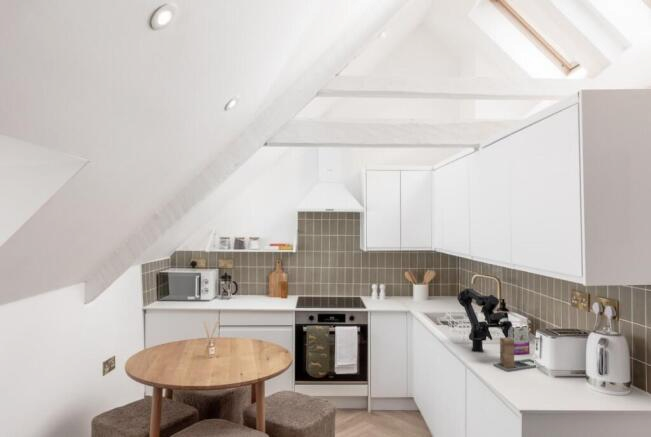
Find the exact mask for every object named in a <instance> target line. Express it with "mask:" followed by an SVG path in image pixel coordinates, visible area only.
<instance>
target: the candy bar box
mask: <svg viewBox="0 0 651 437" xmlns="http://www.w3.org/2000/svg"><path fill="white" fill-rule="evenodd" d="M508 338H511V339H513V340H514V356H521V355H528V354H529V355H530V352H531V351H530V326H529V325H528V324H522V323H521V324H512V326H511V328H510V329H509V330H508Z"/></svg>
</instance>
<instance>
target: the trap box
mask: <svg viewBox="0 0 651 437" xmlns="http://www.w3.org/2000/svg"><path fill="white" fill-rule="evenodd" d="M534 361H535V360H534V359H531V358H526V359H524V358H523V359H518V360H514V368H510V369H507V368H505V367H502V366H500V362H496V363H493V367H495V368H498V369H500V370H501V371H505V372H507V373H510V372H517V371H523V370H529V369H536V365H534Z"/></svg>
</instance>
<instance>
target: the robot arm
mask: <svg viewBox="0 0 651 437" xmlns="http://www.w3.org/2000/svg"><path fill="white" fill-rule="evenodd" d="M456 300H457V301H458V303H459V304H460V306H462V307H463V309H464V310H465V313H466V316H467V318H468V321H469V323H470V326H471V327H470V328H471V329H470V332H469V334H468V339H469V340H470V341H471V342H472V345H471V346H472V347H471V351H472V352H479V353H483V352H484V351H485V350H484V348H483V347H484V346H483V345H484V344H483V342H485V341H487V338H488V339H489V340H490V341H493V337H492V335H491V332H490V329H493V328H500V329H501V332H502V334H503V336H504V338H509V337H508V330H509V329H510V328H511V326H512V325H513V323H512V321H510V320H503V319H505V318H506V316H505V313H504V312H503V311H500V312H495V309H496V308H497V307H498V305H499V304H500V300H499V298H497V297H496V296H494V295H493V294H489V295H485V294H481V293H480V292H478V291H476V290H475V289H474V288H471V287H470V288H464V289H463V290H462V291H461V292H459V293H458V295H457V299H456ZM473 300H475V304H476V305H478V306H479V307H481V310H480V313H482V314H483V316H484V321H479V319H478V317H477V314H476V312H475V309H474V307H473V305H472V303H473ZM501 320H503V321H502V323H500V322H501ZM489 328H490V329H489Z"/></svg>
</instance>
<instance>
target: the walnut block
mask: <svg viewBox="0 0 651 437" xmlns="http://www.w3.org/2000/svg"><path fill="white" fill-rule="evenodd" d="M499 354H500V356H499V363H500V366H502V367H505V368H507V369H510V368H514V361H515V355H514V340H513V339H511V338H509V337H508V338H506V337H500V338H499Z"/></svg>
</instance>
